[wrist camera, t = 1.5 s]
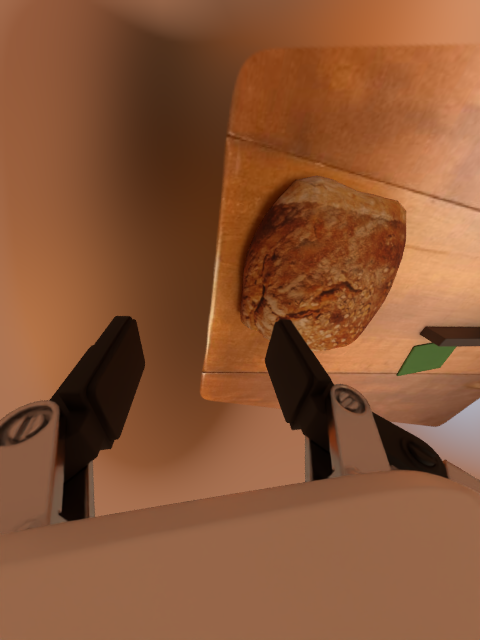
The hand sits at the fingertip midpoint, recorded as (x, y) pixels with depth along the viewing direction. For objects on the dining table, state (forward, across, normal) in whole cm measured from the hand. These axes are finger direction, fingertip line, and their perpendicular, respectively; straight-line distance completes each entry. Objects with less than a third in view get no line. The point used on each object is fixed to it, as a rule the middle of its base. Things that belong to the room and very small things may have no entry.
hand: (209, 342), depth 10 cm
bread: (+18, -15, 0) cm, 23 cm away
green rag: (+18, -53, +20) cm, 59 cm away
